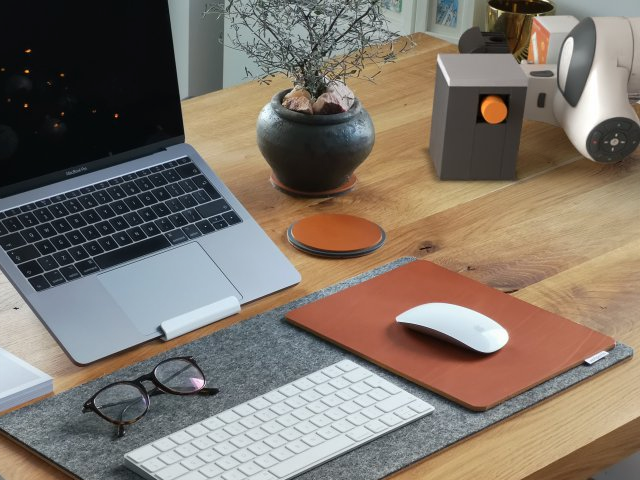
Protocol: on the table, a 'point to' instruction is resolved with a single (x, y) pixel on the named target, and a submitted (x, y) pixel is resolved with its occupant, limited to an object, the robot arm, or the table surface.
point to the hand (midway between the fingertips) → (557, 64)
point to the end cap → (482, 42)
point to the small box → (549, 37)
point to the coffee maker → (476, 117)
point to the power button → (493, 109)
